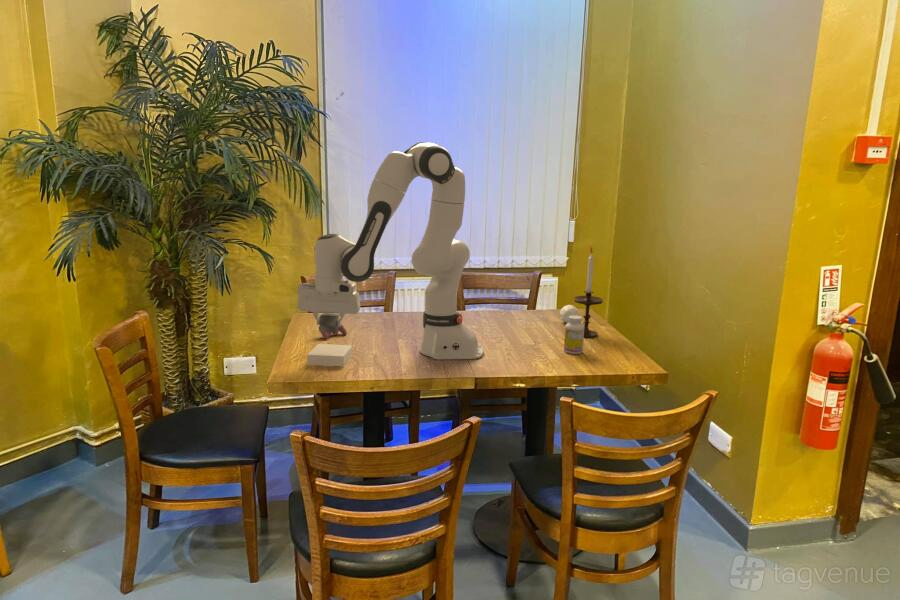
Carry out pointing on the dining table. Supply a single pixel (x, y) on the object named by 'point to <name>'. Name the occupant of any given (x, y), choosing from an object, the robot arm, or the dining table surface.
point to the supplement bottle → (574, 335)
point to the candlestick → (588, 299)
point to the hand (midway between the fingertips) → (329, 325)
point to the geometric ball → (568, 312)
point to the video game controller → (327, 334)
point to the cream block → (330, 355)
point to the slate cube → (328, 322)
